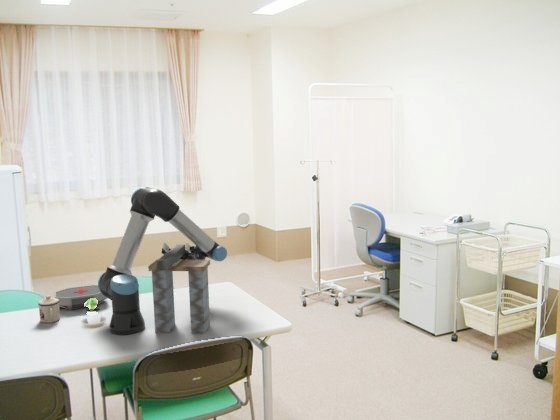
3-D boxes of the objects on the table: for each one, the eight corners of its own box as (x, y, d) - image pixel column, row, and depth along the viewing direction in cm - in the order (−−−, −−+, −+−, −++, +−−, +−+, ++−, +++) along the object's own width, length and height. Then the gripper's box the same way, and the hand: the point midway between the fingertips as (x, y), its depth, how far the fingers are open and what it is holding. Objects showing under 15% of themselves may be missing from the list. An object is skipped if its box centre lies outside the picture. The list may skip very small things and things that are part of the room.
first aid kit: (106, 297, 286) (55, 303, 276) (105, 283, 285) (54, 289, 275) (109, 306, 270) (56, 314, 260) (108, 292, 269) (54, 299, 259)
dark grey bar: (157, 270, 222) (156, 260, 222) (177, 252, 252) (176, 244, 251) (166, 270, 222) (166, 260, 221) (185, 252, 251) (185, 244, 251)
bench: (152, 333, 234) (148, 265, 230) (160, 323, 246) (157, 258, 241) (206, 334, 232) (203, 266, 227) (212, 324, 244) (209, 258, 239)
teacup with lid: (38, 318, 255) (36, 295, 253) (59, 315, 259) (57, 291, 258) (41, 326, 245) (39, 302, 243) (63, 322, 249) (61, 298, 247)
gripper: (166, 251, 265) (152, 237, 244) (211, 252, 263) (200, 237, 242) (164, 266, 262) (150, 253, 242) (209, 266, 260) (199, 254, 240)
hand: (175, 245), depth 242 cm, fingers open, 10 cm apart
